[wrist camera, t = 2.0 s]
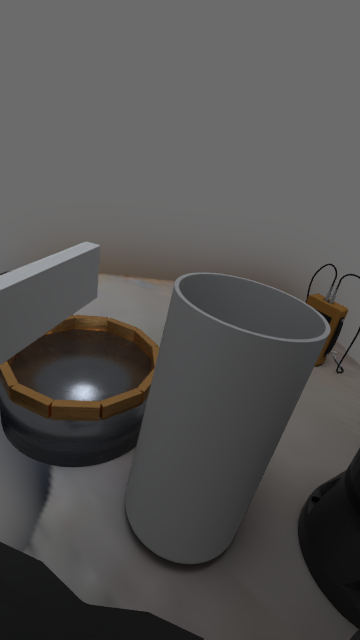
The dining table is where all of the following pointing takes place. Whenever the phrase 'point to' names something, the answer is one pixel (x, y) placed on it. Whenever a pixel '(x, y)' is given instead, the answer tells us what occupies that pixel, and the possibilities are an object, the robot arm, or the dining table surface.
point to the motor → (78, 391)
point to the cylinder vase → (217, 410)
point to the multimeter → (330, 318)
